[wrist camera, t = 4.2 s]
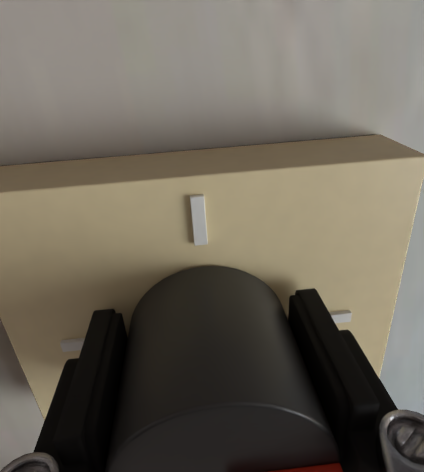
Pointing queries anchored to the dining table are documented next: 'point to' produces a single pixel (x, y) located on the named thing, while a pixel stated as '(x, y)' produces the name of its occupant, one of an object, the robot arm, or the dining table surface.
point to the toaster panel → (203, 236)
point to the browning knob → (216, 383)
